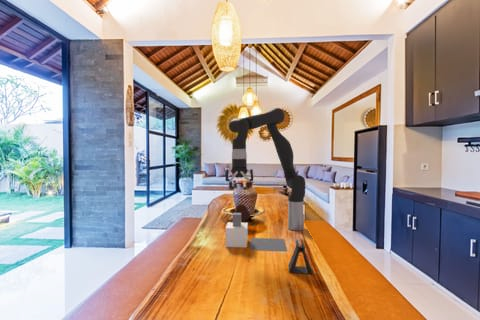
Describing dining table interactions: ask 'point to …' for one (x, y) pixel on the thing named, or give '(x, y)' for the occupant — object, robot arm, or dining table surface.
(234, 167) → the robot arm
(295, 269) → the phone stand
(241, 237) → the cover
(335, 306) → the dining table surface
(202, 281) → the dining table surface
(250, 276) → the dining table surface
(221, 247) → the dining table surface
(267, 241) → the mat
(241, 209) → the ice cream bowl
